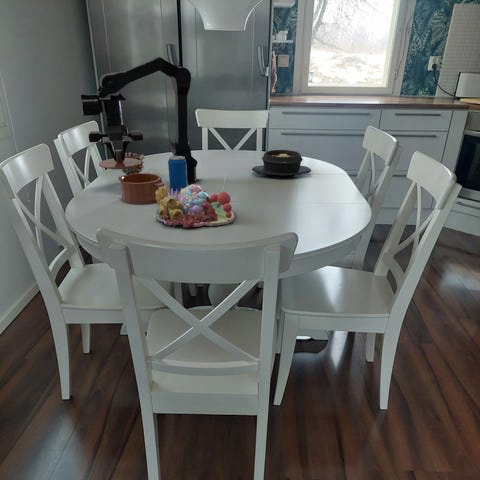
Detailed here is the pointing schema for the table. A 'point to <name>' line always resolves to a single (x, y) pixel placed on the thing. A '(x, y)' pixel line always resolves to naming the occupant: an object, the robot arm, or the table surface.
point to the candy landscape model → (193, 207)
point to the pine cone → (138, 168)
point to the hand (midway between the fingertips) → (119, 161)
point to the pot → (140, 188)
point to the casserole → (281, 164)
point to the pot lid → (119, 162)
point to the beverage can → (177, 173)
